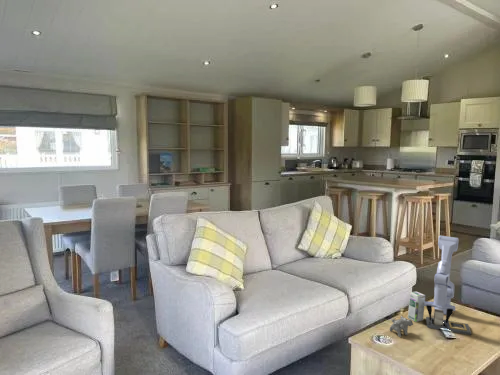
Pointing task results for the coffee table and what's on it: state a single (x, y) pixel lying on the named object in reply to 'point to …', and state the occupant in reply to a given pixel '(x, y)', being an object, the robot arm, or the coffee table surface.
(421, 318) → the syrup box
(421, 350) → the coffee table surface
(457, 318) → the coffee table surface
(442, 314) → the peg
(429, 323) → the rail
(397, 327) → the gray elephant figurine
